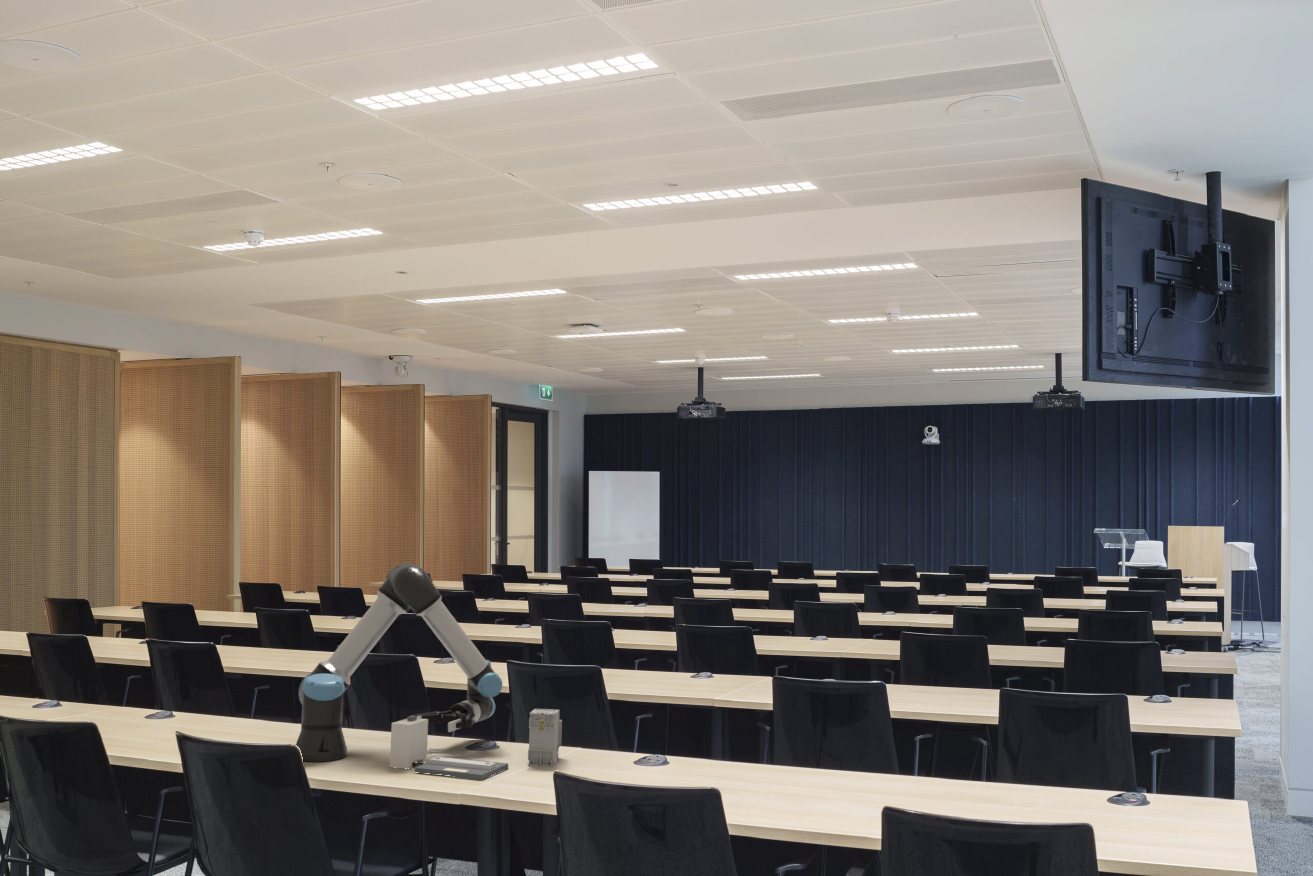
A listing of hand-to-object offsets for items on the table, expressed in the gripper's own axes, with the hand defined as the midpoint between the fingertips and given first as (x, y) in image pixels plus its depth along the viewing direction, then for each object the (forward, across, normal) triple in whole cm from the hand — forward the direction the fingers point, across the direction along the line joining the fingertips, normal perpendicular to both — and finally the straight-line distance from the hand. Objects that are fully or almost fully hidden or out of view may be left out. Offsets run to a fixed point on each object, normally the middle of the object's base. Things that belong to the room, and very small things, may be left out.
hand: (428, 725), depth 326 cm
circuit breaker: (-12, -32, -10) cm, 36 cm away
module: (+10, 0, -10) cm, 14 cm away
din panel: (+10, -17, -10) cm, 22 cm away
